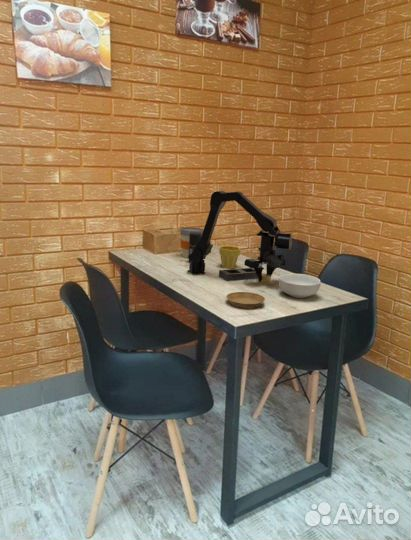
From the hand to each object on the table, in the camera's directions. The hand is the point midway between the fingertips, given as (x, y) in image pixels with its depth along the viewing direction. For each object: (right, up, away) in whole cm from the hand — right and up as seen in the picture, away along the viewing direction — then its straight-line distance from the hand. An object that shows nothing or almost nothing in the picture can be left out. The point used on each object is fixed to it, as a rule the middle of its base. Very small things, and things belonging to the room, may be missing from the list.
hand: (263, 281), depth 202 cm
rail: (-10, +2, +8) cm, 13 cm away
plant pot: (-14, +6, +27) cm, 31 cm away
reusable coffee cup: (-34, +12, +44) cm, 57 cm away
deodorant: (-32, +9, +32) cm, 46 cm away
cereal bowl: (+12, -6, -14) cm, 19 cm away
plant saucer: (-11, -8, -28) cm, 31 cm away
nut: (0, -1, 0) cm, 1 cm away
